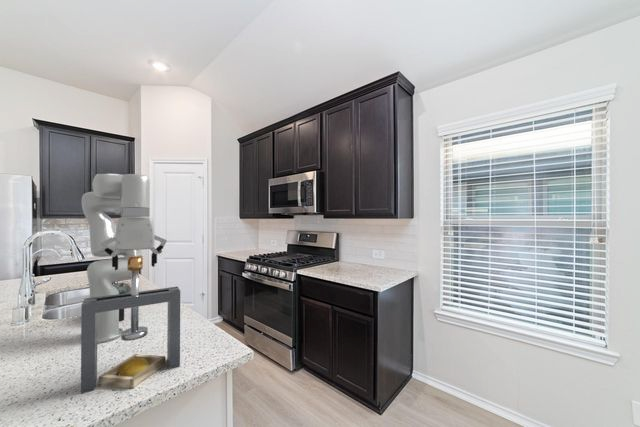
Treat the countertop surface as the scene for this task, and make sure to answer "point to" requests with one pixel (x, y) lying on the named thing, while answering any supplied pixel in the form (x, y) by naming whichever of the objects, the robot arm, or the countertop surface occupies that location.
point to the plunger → (134, 266)
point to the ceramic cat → (122, 290)
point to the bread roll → (133, 367)
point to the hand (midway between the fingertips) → (135, 267)
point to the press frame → (121, 302)
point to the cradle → (131, 382)
